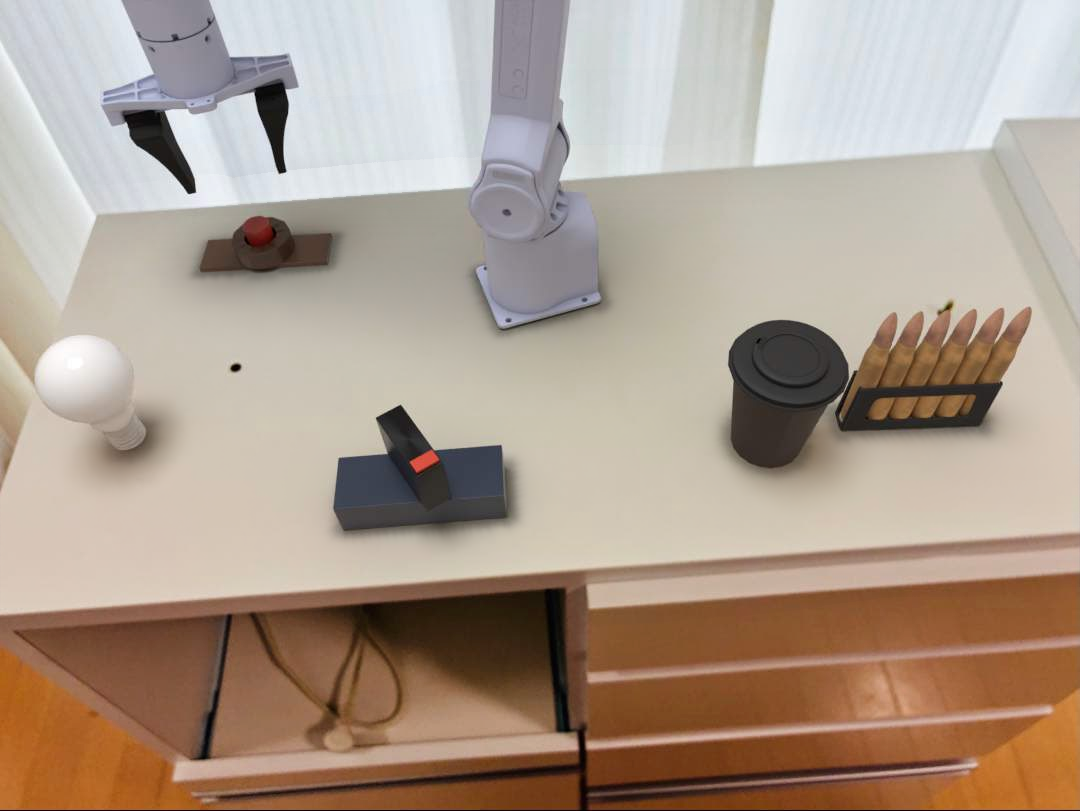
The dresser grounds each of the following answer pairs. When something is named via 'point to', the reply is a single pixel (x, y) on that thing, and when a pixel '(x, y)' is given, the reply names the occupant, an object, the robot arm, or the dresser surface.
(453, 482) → the switch base
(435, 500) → the black block red marker
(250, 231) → the release button
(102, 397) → the lightbulb
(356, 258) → the dresser surface
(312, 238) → the block
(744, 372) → the coffee cup
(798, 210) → the dresser surface
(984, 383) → the ammunition clip
